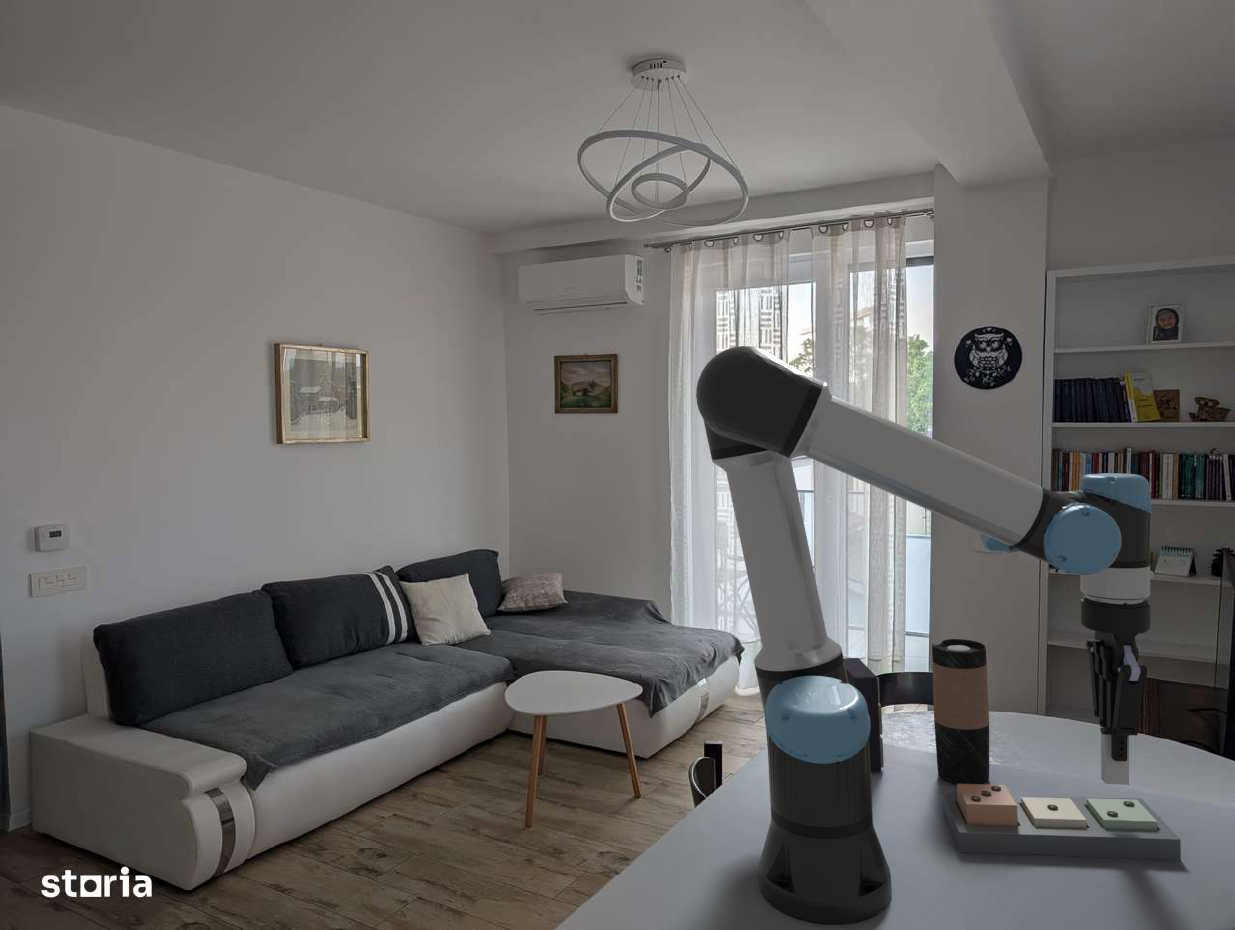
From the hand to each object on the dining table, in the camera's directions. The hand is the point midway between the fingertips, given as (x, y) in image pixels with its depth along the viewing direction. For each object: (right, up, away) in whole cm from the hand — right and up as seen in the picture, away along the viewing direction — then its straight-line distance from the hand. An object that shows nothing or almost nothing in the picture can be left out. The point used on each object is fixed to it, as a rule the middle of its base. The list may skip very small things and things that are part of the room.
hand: (1114, 781), depth 108 cm
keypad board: (-7, -7, +2) cm, 10 cm away
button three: (-15, -6, +3) cm, 16 cm away
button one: (-7, -7, +2) cm, 10 cm away
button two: (+1, -7, 0) cm, 7 cm away
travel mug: (-11, -7, +20) cm, 24 cm away
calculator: (-24, -7, +28) cm, 38 cm away
